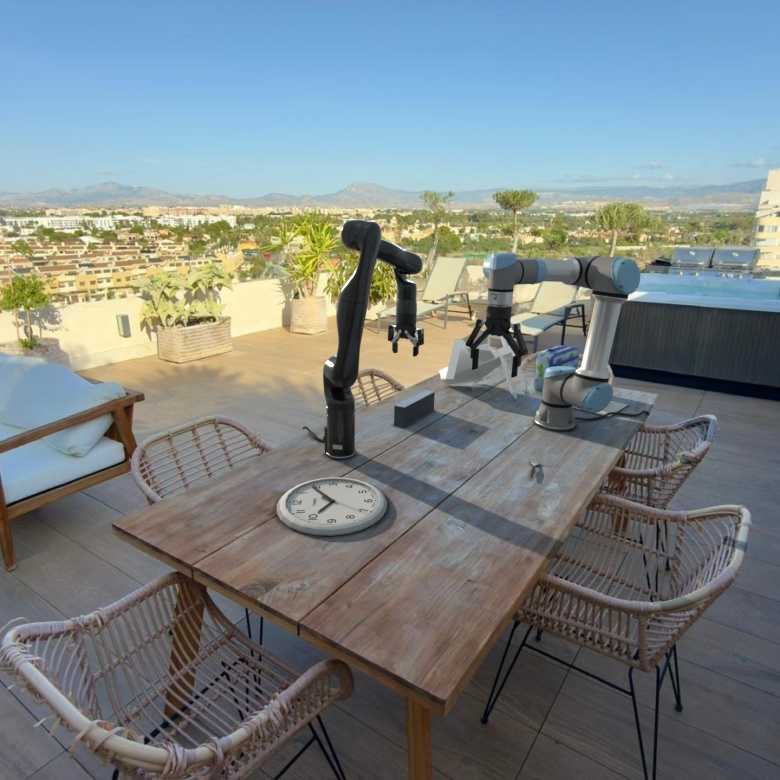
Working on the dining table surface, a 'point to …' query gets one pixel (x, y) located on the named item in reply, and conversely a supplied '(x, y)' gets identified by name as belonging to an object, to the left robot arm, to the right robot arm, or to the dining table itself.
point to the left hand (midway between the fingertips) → (405, 354)
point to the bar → (413, 408)
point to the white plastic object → (480, 365)
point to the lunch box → (554, 362)
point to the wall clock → (331, 506)
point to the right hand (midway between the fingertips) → (494, 372)
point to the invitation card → (611, 408)
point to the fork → (534, 465)
